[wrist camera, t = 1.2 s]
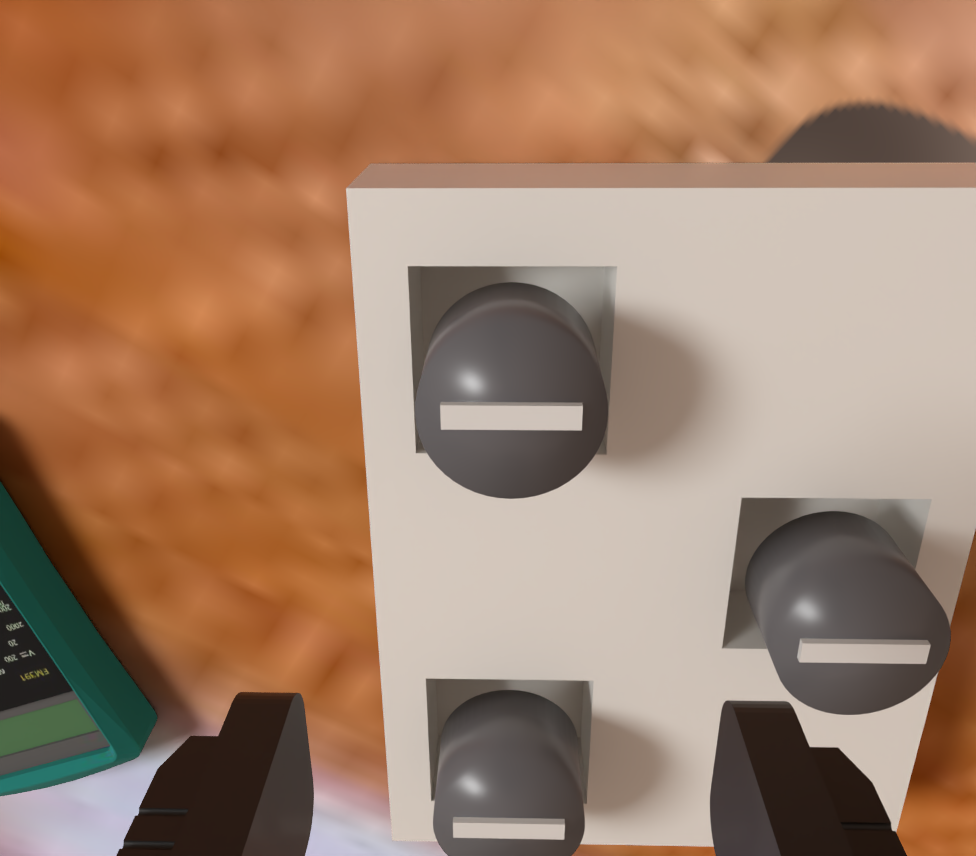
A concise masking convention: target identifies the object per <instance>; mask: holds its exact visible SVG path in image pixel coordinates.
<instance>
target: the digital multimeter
mask: <svg viewBox="0 0 976 856" xmlns="http://www.w3.org/2000/svg"><path fill="white" fill-rule="evenodd" d="M0 584H1V585H0V796H5V795H11V794H17V793H22V792H27V791H32V790H37V789H42V788H47V787H51V786H54V785H58V784H62V783H66V782H69V781H73V780H77V779H80V778H83V777H86V776H89V775H92V774H95V773H98V772H101V771H104V770H106V769H109V768H112V767H114V766H117V765H120V764H122V763H125V762H128V761H130V760H133V759H135V758H137V757H138V756H139V755H140V753H141V751H142V749H143V747H144V745H145V743H146V741H147V739H148V737H149V735H150V733H151V731H152V729H153V727H154V725H155V723H156V721H157V715H156V712H155V711H154V710H153V708H152V707H151V705H150V704H149V702H148V701H147V700H146V698H145V697H144V695H143V694H142V692H141V691H140V690H139V688H138V687H137V685H136V684H135V682H134V681H133V680H132V678H131V677H130V676H129V674H128V673H127V672H126V670H125V669H124V667H123V666H122V665H121V663H120V662H119V661H118V659H117V658H116V656H115V655H114V654H113V652H112V651H111V650H110V648H109V647H108V645H107V644H106V643H105V641H104V640H103V639H102V637H101V636H100V634H99V633H98V632H97V630H96V629H95V627H94V626H93V624H92V623H91V621H90V620H89V618H88V617H87V615H86V613H85V612H84V610H83V609H82V607H81V606H80V604H79V603H78V601H77V600H76V598H75V597H74V595H73V594H72V593H71V591H70V590H69V588H68V587H67V585H66V584H65V582H64V581H63V579H62V578H61V576H60V575H59V573H58V572H57V570H56V569H55V567H54V566H53V564H52V563H51V561H50V560H49V558H48V557H47V555H46V553H45V552H44V550H43V548H42V547H41V545H40V544H39V542H38V540H37V539H36V537H35V535H34V534H33V532H32V531H31V529H30V527H29V526H28V524H27V522H26V521H25V519H24V518H23V516H22V514H21V513H20V511H19V509H18V508H17V506H16V505H15V503H14V502H13V500H12V499H11V497H10V495H9V494H8V492H7V491H6V489H5V488H4V486H3V485H2V483H1V481H0ZM2 587H3V588H2ZM4 590H5V591H4ZM6 593H7V594H8V595H7V594H6ZM8 596H9V597H10V598H9V597H8ZM10 599H11V600H12V601H11V600H10ZM13 603H14V604H13ZM15 606H16V607H17V608H16V607H15ZM17 609H18V610H19V611H18V610H17ZM19 612H20V613H21V614H20V613H19ZM22 616H23V617H22ZM24 619H25V620H24ZM26 622H27V623H28V624H27V623H26ZM28 625H29V626H30V627H29V626H28ZM31 629H32V630H31ZM33 632H34V633H33ZM35 635H36V636H35ZM37 638H38V639H39V640H38V639H37ZM39 641H40V642H41V643H40V642H39ZM42 645H43V646H42ZM44 648H45V649H44ZM46 651H47V652H46ZM48 654H49V655H50V656H49V655H48ZM51 658H52V659H51ZM53 661H54V662H53ZM55 664H56V665H55ZM57 667H58V668H57ZM59 670H60V671H61V672H60V671H59ZM62 674H63V675H62ZM64 677H65V678H64ZM66 680H67V681H66ZM68 683H69V684H68Z"/></svg>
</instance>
